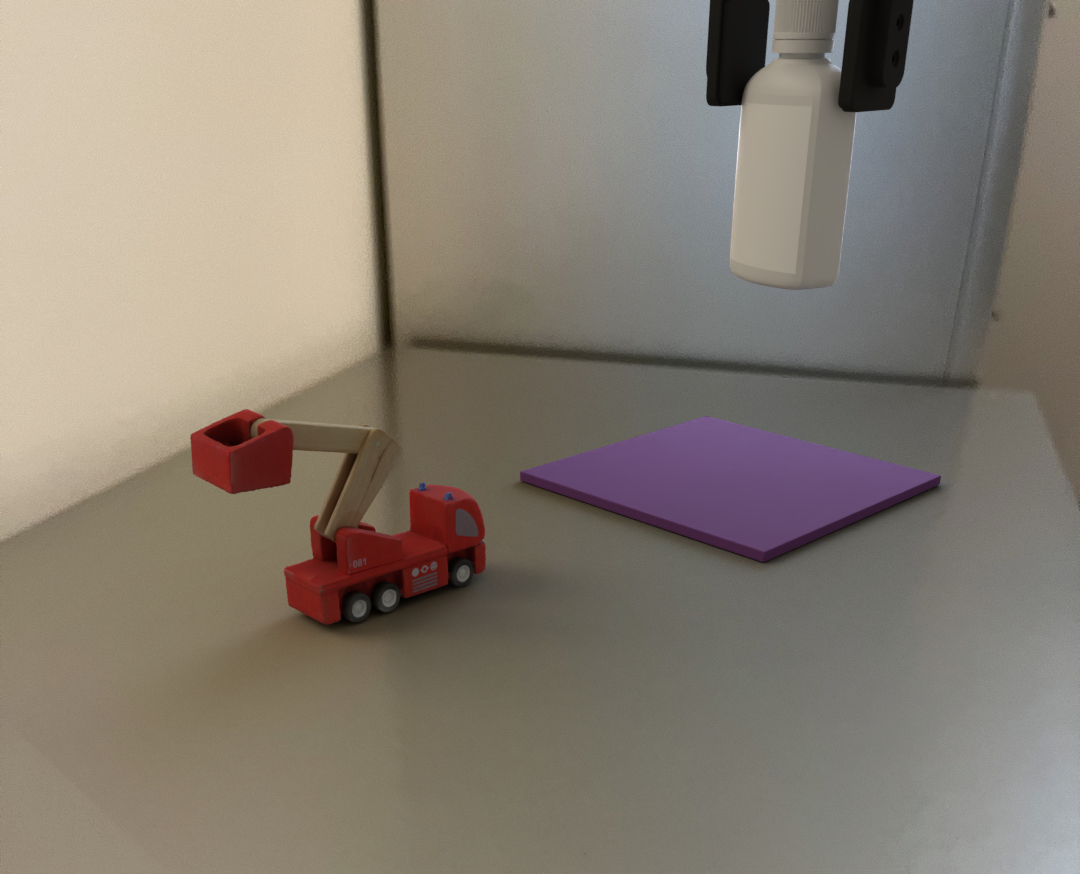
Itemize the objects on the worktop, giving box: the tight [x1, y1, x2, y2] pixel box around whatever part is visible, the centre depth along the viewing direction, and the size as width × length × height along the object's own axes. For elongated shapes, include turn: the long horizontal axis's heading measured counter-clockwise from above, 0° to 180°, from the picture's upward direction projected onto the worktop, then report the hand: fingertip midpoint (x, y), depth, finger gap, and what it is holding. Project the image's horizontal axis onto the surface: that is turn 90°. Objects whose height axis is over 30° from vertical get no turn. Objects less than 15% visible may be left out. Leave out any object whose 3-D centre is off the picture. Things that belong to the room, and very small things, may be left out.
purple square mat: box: [519, 415, 942, 563], centre depth 72 cm, size 18×18×1 cm
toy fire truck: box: [189, 408, 487, 626], centre depth 54 cm, size 3×14×10 cm, turn 133°
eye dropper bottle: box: [728, 0, 858, 291], centre depth 49 cm, size 4×6×12 cm
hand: (797, 102), depth 49 cm, fingers closed on eye dropper bottle, 5 cm apart
